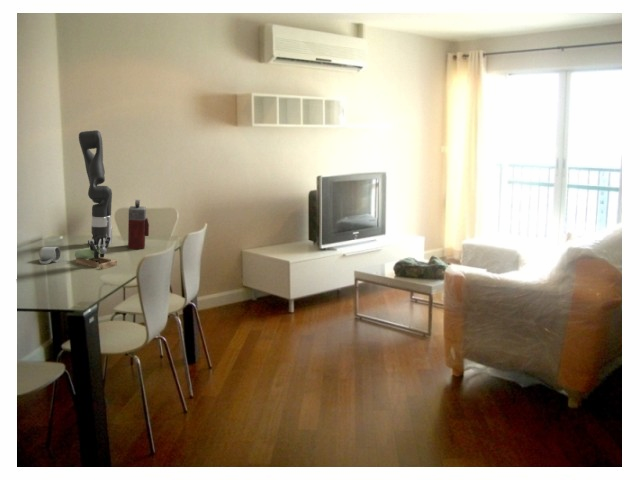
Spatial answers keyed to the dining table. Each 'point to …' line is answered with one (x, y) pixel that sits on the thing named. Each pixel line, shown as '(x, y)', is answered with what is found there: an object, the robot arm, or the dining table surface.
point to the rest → (105, 262)
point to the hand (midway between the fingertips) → (99, 257)
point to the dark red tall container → (137, 226)
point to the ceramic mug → (49, 254)
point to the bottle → (88, 253)
